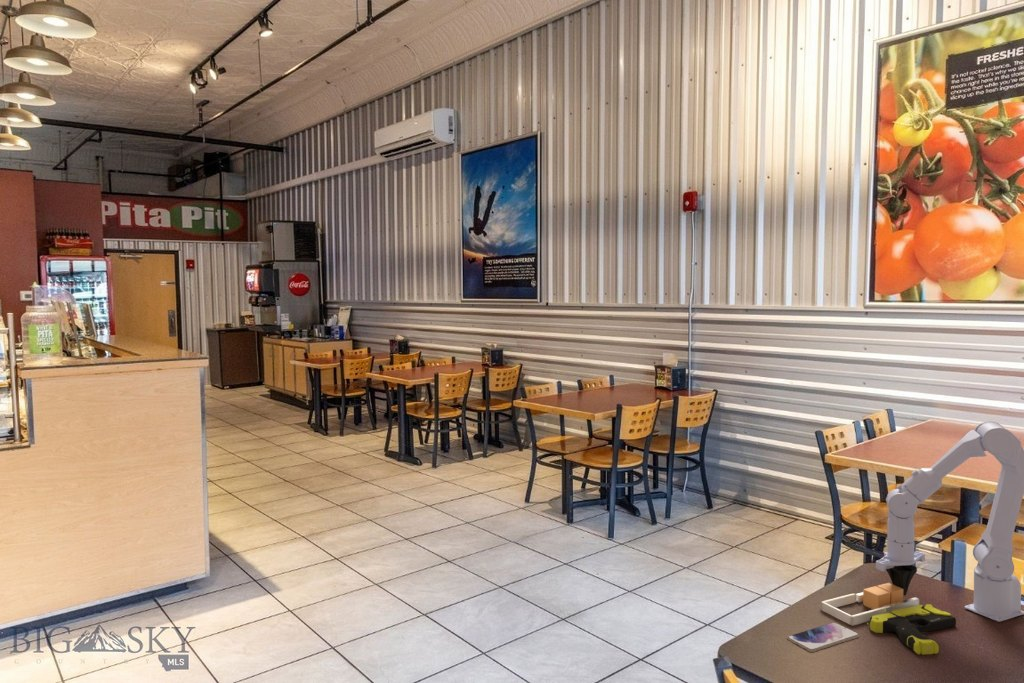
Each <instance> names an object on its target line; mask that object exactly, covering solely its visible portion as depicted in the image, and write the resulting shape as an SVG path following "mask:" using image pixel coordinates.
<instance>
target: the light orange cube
mask: <svg viewBox="0 0 1024 683" xmlns="http://www.w3.org/2000/svg"><path fill="white" fill-rule="evenodd" d="M876 587H879V588H881V589H883V590H886V591H888V592H890V604H893V603H896V602H900V601H903V600H904V596H903V589H902V588H900V587H898V586H895V585H893V584H892V583H890V582H887V583H882V584H878V585H876Z"/></svg>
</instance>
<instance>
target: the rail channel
mask: <svg viewBox="0 0 1024 683" xmlns="http://www.w3.org/2000/svg"><path fill="white" fill-rule="evenodd" d="M855 603H859V604H860V603H863V591H862V592H859V593H855ZM918 605H920V598H918V597H915V596H914V597H912V598H911V597H910V598H908V599H903V601H900V602H896V603H893V604H889V605H885V606H882V607H885V608H886V609H885V613H890V612H892V610H898V609H903V608H908V607H913V606H918Z"/></svg>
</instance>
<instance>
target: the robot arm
mask: <svg viewBox="0 0 1024 683" xmlns="http://www.w3.org/2000/svg"><path fill="white" fill-rule="evenodd" d="M986 452H987V453H990V455H992V456H993V457H994V458H995V459H996V460H997V462H998V463H999V464H1000V465H1001V470H1000V472H999V476H998V481H997V485H996V489H995V492H994V497H993V502H992V505H991V508H990V513H989V517H988V522H987V526H986V529H985V530H984V531H983V532H982V533H981V536H980V539H979V541H978V542H976V544H975V545H973V546H974V547H973V548H972V556H973V557H974V560H975V561H976V562H977V564H976V566H975V567H974V569H973V603H970V604H968V605H964V609H966V610H968V611H970V612H971V611H972V612H973V613H975V614H977V615H978V614H979V615H981V616H982V617H983V616H984V617H986V618H988V619H991V620H993V621H995V622H997V623H999V622H1004V621H1007V620H1010V619H1013V618H1015V617H1016V618H1017V617H1018V616H1023V615H1024V610H1022V608H1021V607H1022V606H1021V605H1022V603H1021V602H1022V585H1021V582H1020V580H1019V578H1018V577H1017V576H1016V575H1015V574H1014V572H1015V565H1014V562H1013V555H1014V545H1013V538H1014V532H1015V529H1016V525H1017V521H1018V517H1019V513H1020V510H1021V505H1022V501H1023V497H1024V447H1023V445H1022V442H1021V440H1020V439H1019V438H1018V437H1017V436H1016V435H1015V434H1014V433H1013V432H1012V431H1011V430H1009V429H1007V428H1005V427H1004V426H1003V425H1001V424H1000V423H999V422H996V421H992V420H991V421H989V420H988V421H983V422H981V423H979V424H978V425H977V426H976V427H975V429H971V430H970V431H968V432H967V433H966V434H965V435H964V436H963V437H962V438H960V440H958V442H956V443H955V444H954V445H953V446H952V447H951V448H950V449H949V450H948V451H946V453H944V454H943V455H942V456H941V458H939V459H938V460H937V461H936V462H935V463H934V464H933V465H932V466H930V467H921V468H920V469H918V470H917V469H914V470H913V471H912V472H911V476H910V477H909V478H908V479H906V480H905V481H904V482H903V483H901V484H900V483H899V484H897V485H896V488H893V489H892V490H890V491H889V492H888V493H887V495H886V498H885V502H886V505H887V507H888V510H887V517H888V518H887V523H886V524H887V526H886V527H887V528H886V530H887V531H886V532H887V533H886V536H887V540H886V550H887V551H885V552H884V553H883V555H884V556H883V557H882V558H880V559H878V560H875V569H876V570H877V571H880V572H887V574H888V576H889V578H890V580H891V584H893V585H895V586H898V587H900V588H902V589H903V597H905V596H907V593H908V590H909V586H910V584H911V581H912V579H913V577H914V576H915V574H916V573H917V571H918V567H916V566H915V564H916V563H917V562H921V563H923V562H926V554H925V553H924V552H921V551H915V521H914V520H915V519H914V518H915V517H914V515H916V513H917V511H918V506H919V505H921V504H922V503H923V502H925V501H926V500H927V499H929V498H930V497H931V496H932V495H933V494H934V493H936V492H937V491H939V490H940V488H942V486H943V479H944V477H946V476H948V475H949V474H950V473H952V472H953V471H955V469H957V468H958V467H959V466H962V464H963V463H965V462H967V460H969V459H970V458H977V457H981V458H983V457H987V454H986Z"/></svg>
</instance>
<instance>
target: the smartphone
mask: <svg viewBox="0 0 1024 683" xmlns="http://www.w3.org/2000/svg"><path fill="white" fill-rule="evenodd" d="M859 637H860V634H859V632H856V631H853V630H852V629H850V628H847V627H845V626H843V625H842V624H840V623H838V622H830V623H827V624H823V625H820V626H817V627H814V628H811V629H807V630H804V631H801V632H798V633H793V634H791V635H788V636H786V640H787V641H789V642H791V643H793V644H794V645H797V646H799V647H800V648H802V649H803V650H806V651H808V652H809V653H815V652H817V651H821V650H823V649H827V648H829V647H833V646H836V645H839V644H843V643H845V642H848V641H851V640H854V639H857V638H859Z"/></svg>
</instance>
